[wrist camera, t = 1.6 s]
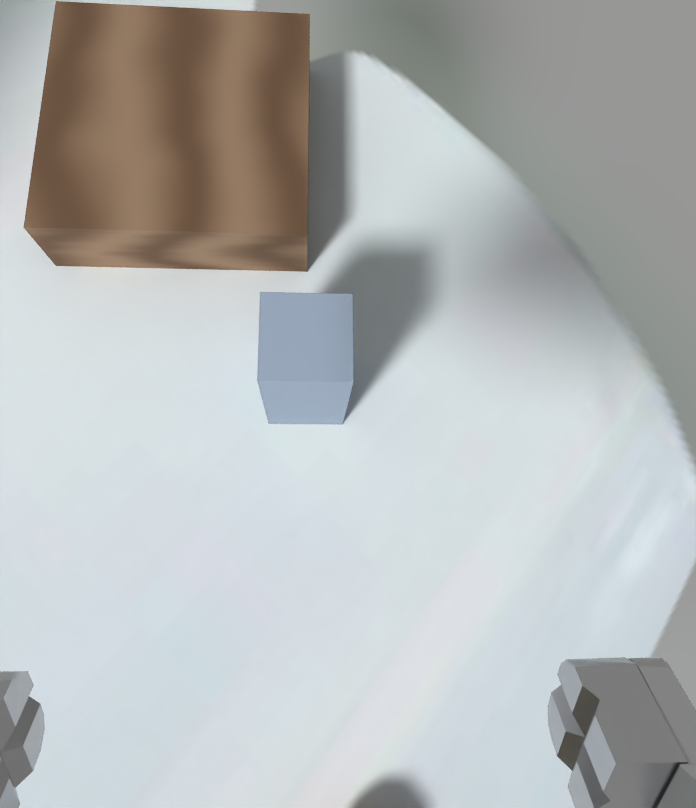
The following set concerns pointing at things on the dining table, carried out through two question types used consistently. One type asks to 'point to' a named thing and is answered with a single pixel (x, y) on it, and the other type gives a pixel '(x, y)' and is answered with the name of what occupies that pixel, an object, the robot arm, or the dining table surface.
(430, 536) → the dining table surface
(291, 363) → the slate pillar
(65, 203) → the walnut block
